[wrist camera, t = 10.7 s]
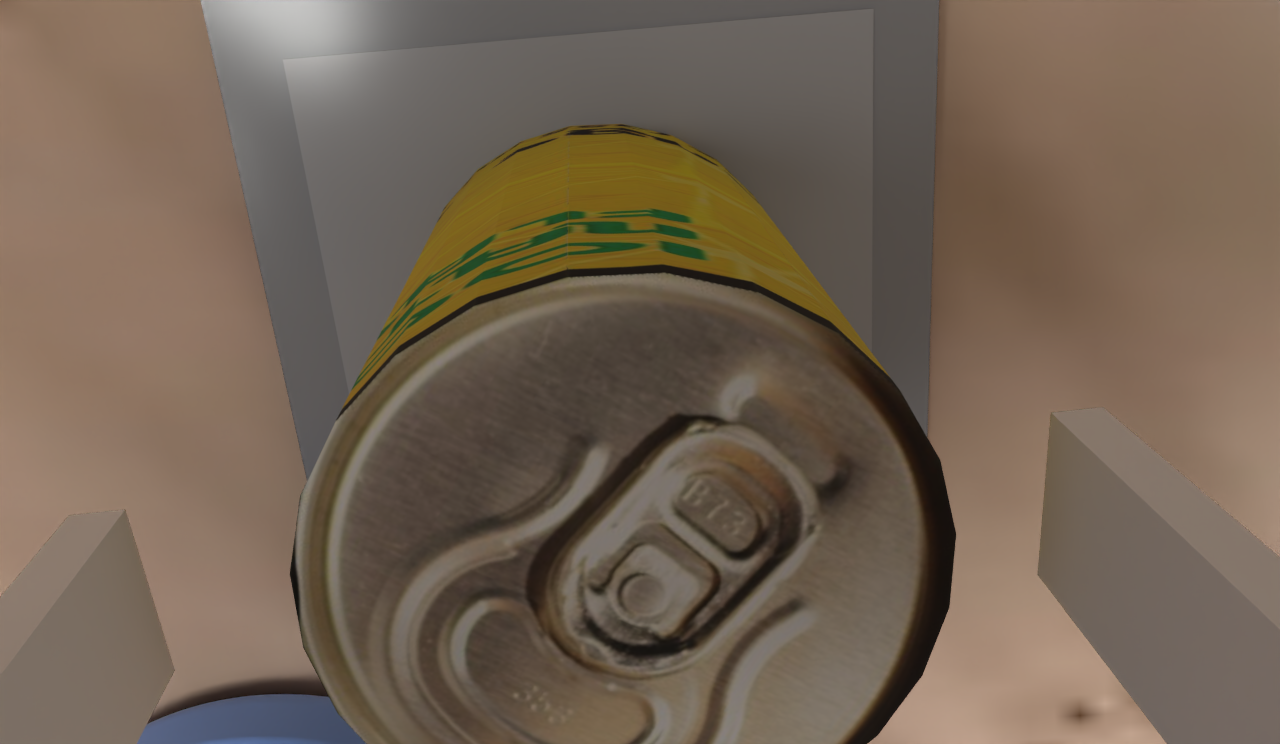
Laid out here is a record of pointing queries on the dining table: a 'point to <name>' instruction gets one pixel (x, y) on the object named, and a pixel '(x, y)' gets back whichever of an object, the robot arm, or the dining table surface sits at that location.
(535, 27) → the plate
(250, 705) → the water jug
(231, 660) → the dining table surface
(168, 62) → the dining table surface
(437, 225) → the beverage can
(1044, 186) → the dining table surface
